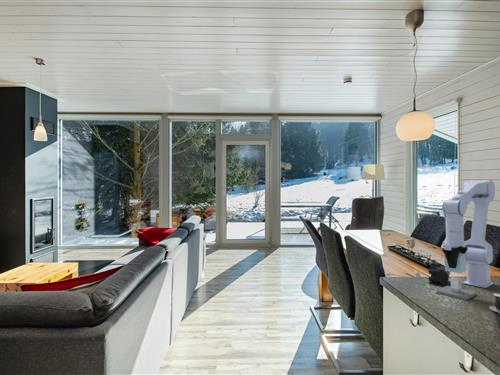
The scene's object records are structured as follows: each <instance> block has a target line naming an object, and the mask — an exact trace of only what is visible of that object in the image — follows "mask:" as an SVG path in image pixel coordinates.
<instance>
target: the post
mask: <svg viewBox="0 0 500 375" xmlns="http://www.w3.org/2000/svg"><path fill="white" fill-rule="evenodd" d="M450 286H451V291H453V292H457V293H459V292H461V289H462V278H461V277H456V276H452V277H450Z"/></svg>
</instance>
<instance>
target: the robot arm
mask: <svg viewBox="0 0 500 375" xmlns="http://www.w3.org/2000/svg"><path fill="white" fill-rule="evenodd" d="M462 188H463V189H462V190H460V191H459V190H458V191H457V192H456V193H455V194H454V195H453V196H452V197H451V198H450V199H447V200H445V201H443V203H442V207H441V210H442V213H443V219H444V220H445V241H444V240H443V241H442V244H444V248H442V249H441V252H443V254H444V257H445V256H446V259H447V262H448V265H449V268H456V266H457V259H458V255H459V253H463V254H465V258H466V280H465V281H463V283H462V284H464V285H470V286H473V287H479V288H484V289H486V288H488V287H490V286H492V285H493V284H494V283H493V282H491V268H490V264H491V263H492V262H493V259H494V252H493V251H494V250H493V246H492V244H490V243H489V242H487V240H486V234H487V232H486V231H487V222H488V215H489V206H490V203H491V202H493V201H494V199H495V193H496V186H495V182H494V181H493V180H492V179H488V180H487V179H486V180H485V179H484V180H483V179H482V180H481V179H480V180H465V182H464V183H463V186H462ZM472 202H473V203H474V206H473V214H472V224H471V233H470V238H469V239H468V240H465V233H464V232H465V230H464V229H465V228H464V216H465V215H466V212H467V209H468V206H469V205H470V203H472Z"/></svg>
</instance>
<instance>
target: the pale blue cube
mask: <svg viewBox="0 0 500 375" xmlns="http://www.w3.org/2000/svg"><path fill="white" fill-rule="evenodd" d="M444 266H445V271H449V272H450V273H455V274H462V273H465V272H467V262H466V258H465V254H463V253H459V255H458V259H457V266H456V268H449V265H448V262H447V259H446V256H445V255H444Z"/></svg>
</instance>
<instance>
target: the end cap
mask: <svg viewBox="0 0 500 375" xmlns="http://www.w3.org/2000/svg"><path fill="white" fill-rule="evenodd" d="M428 274H429V275H430V276H428V281H429V282H428V284H429V285H435V286H443V285H445V284H447V283H448V281H449V279H450V275H451V272H449V271H445V264H444V265H443V264H441V265H440V266H439V265H432V264H431V265H430V266H429V268H428Z"/></svg>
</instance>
